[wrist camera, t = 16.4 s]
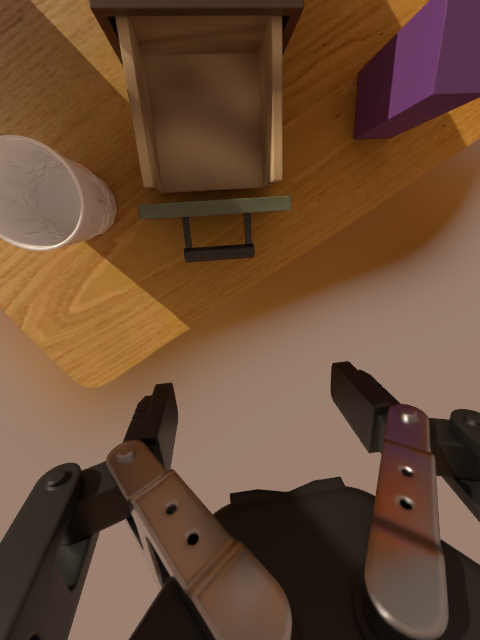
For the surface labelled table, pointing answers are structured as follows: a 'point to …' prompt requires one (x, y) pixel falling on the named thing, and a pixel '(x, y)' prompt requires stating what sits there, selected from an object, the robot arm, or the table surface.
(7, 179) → the white cup
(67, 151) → the table surface
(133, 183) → the table surface
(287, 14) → the cabinet
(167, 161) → the drawer
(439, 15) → the snack box
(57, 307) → the table surface
